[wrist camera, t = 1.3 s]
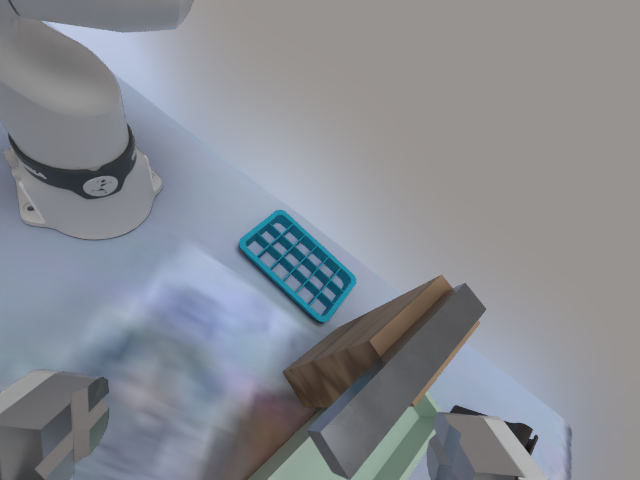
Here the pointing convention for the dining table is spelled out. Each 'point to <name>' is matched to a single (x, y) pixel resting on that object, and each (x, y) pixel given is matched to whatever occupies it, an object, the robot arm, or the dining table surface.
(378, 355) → the walnut stand
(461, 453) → the robot arm
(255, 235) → the ice cube tray
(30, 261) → the dining table surface
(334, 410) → the gray rectangular bar
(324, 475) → the green tray
